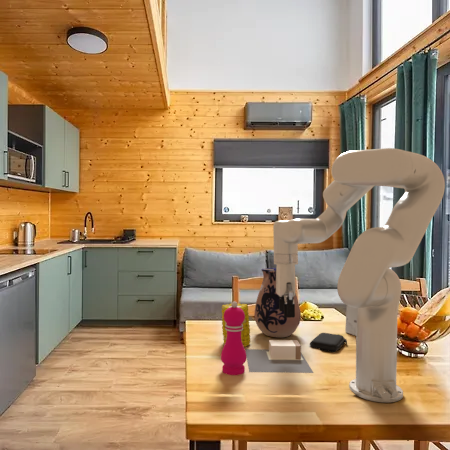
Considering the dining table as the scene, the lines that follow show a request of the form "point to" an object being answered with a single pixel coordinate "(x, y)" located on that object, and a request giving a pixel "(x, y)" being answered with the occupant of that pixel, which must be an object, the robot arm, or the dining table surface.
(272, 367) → the mat
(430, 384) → the dining table surface
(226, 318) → the pepper mill
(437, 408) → the dining table surface
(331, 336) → the carrying case or bag
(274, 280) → the ceramic pitcher
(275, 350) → the box
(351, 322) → the skincare box
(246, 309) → the food
